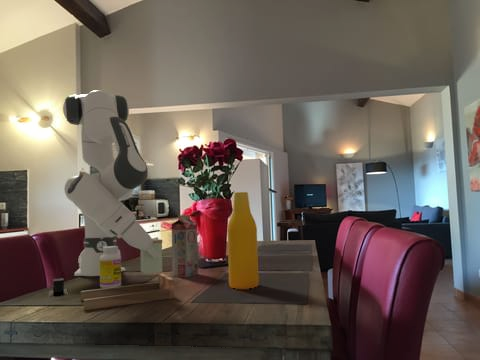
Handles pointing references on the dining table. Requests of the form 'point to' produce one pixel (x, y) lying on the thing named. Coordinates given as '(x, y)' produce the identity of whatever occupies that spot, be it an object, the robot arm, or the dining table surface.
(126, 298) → the bay
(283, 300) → the dining table surface
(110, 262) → the supplement bottle
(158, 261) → the cream tall block
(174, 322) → the dining table surface
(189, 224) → the juice carton
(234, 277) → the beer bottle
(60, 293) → the black box
